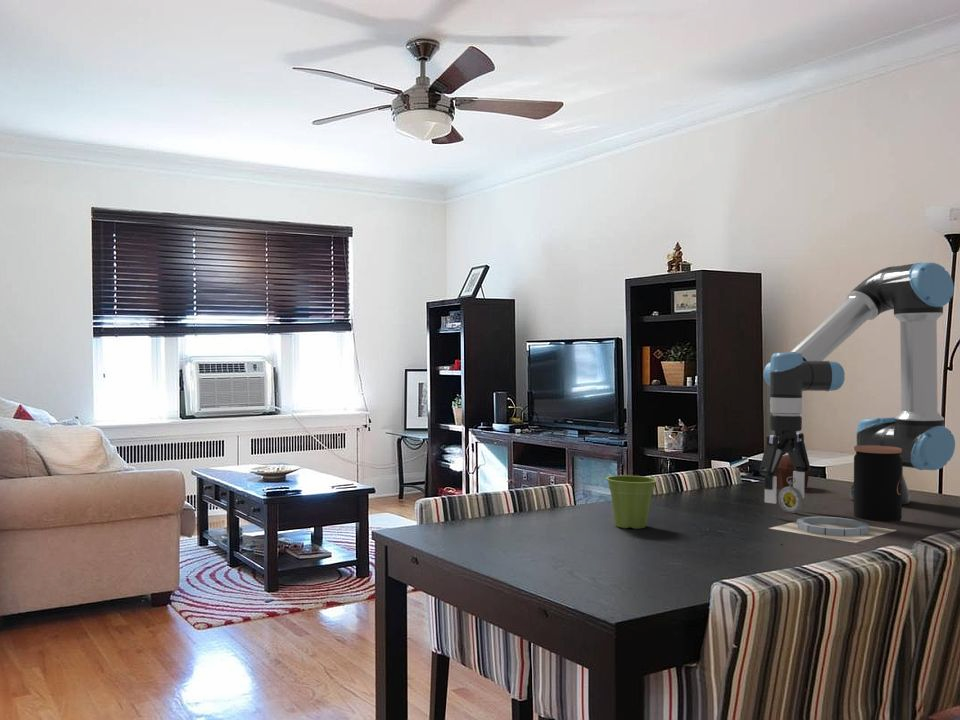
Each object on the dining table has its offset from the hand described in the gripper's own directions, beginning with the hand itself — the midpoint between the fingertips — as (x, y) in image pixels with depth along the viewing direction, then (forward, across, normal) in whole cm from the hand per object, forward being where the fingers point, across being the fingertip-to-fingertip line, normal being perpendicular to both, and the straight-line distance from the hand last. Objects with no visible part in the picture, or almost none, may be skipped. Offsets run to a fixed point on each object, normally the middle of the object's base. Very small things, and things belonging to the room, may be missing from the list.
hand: (784, 500), depth 214 cm
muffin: (+4, -47, -24) cm, 53 cm away
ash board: (+4, +10, +17) cm, 20 cm away
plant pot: (+5, +38, -18) cm, 42 cm away
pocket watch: (+5, 0, 0) cm, 5 cm away
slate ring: (+3, +10, +17) cm, 20 cm away
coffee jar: (+4, -13, +17) cm, 22 cm away
